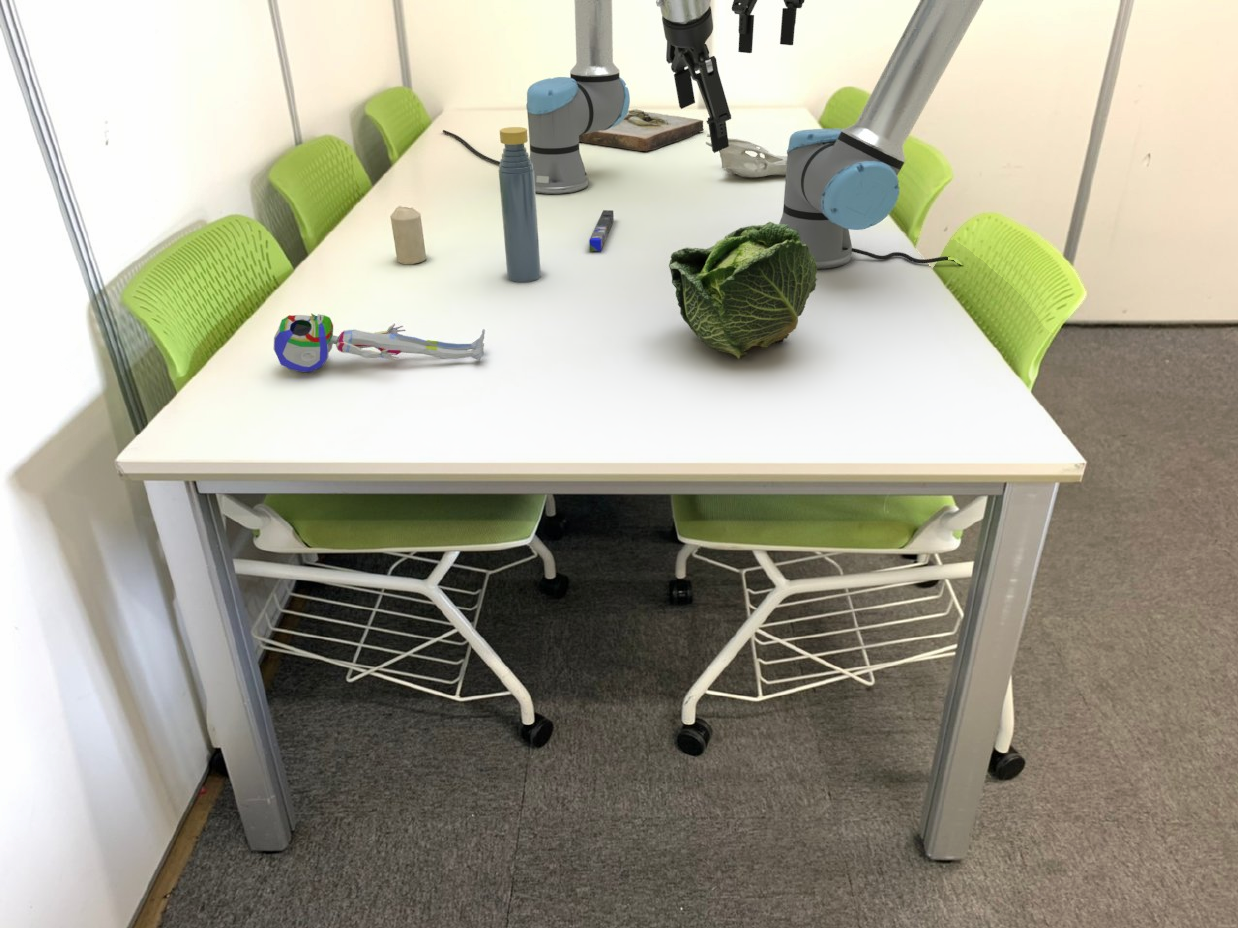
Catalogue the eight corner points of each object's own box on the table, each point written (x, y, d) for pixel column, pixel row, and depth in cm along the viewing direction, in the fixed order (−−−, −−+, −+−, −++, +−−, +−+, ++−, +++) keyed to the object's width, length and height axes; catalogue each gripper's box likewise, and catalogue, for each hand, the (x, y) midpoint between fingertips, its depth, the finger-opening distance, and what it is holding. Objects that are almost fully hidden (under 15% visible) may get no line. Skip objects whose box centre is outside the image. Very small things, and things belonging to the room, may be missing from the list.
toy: (484, 341, 128) (264, 324, 124) (481, 394, 133) (269, 379, 128) (485, 314, 137) (280, 296, 132) (482, 364, 141) (284, 349, 136)
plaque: (647, 125, 237) (559, 112, 252) (647, 153, 241) (560, 139, 256) (706, 107, 258) (622, 97, 273) (705, 133, 262) (622, 121, 277)
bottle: (539, 269, 167) (529, 127, 153) (542, 281, 162) (533, 135, 148) (506, 271, 166) (494, 129, 153) (508, 283, 161) (496, 137, 148)
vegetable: (704, 370, 145) (643, 264, 138) (800, 304, 147) (745, 195, 139) (754, 397, 127) (686, 277, 119) (863, 321, 128) (804, 197, 121)
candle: (431, 256, 173) (424, 204, 168) (417, 265, 169) (409, 213, 164) (406, 253, 175) (399, 202, 170) (391, 262, 171) (383, 210, 165)
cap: (526, 138, 153) (525, 126, 152) (528, 144, 150) (528, 132, 149) (499, 139, 153) (498, 127, 152) (501, 145, 149) (500, 133, 148)
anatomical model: (708, 130, 224) (809, 129, 220) (707, 168, 229) (806, 167, 225) (703, 145, 212) (811, 144, 208) (703, 184, 216) (808, 183, 213)
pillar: (613, 210, 190) (600, 241, 173) (613, 220, 191) (600, 251, 174) (603, 210, 190) (589, 240, 173) (603, 220, 191) (589, 251, 174)
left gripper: (749, -76, 155) (742, 57, 167) (829, -79, 170) (818, 43, 182) (716, -76, 160) (711, 54, 171) (796, -80, 175) (787, 40, 186)
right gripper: (632, -18, 142) (655, 96, 160) (697, 62, 128) (714, 177, 146) (675, -37, 142) (693, 79, 160) (745, 41, 128) (756, 158, 146)
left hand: (766, 48), depth 176 cm, fingers open, 13 cm apart
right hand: (703, 126), depth 153 cm, fingers open, 13 cm apart
